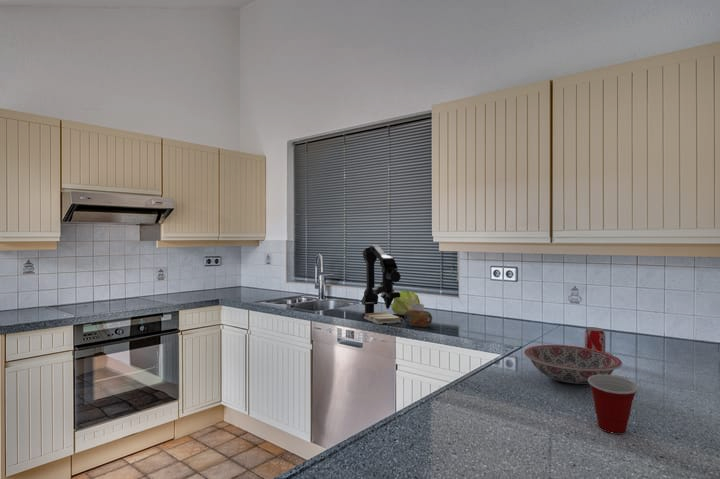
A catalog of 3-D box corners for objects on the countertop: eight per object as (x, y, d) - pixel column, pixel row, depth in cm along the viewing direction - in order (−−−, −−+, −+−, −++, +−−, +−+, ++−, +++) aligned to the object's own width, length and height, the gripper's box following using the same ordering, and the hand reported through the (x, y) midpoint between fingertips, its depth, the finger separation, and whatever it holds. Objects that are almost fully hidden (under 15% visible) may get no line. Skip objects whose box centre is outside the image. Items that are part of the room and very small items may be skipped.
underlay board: (364, 318, 250) (364, 313, 250) (385, 316, 256) (385, 312, 256) (377, 324, 234) (377, 319, 234) (400, 322, 239) (400, 317, 239)
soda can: (597, 363, 163) (597, 331, 163) (580, 358, 169) (580, 327, 169) (609, 360, 166) (609, 329, 166) (592, 356, 172) (592, 326, 172)
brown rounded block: (403, 325, 232) (403, 309, 232) (406, 324, 235) (406, 308, 235) (430, 328, 225) (430, 311, 225) (432, 326, 228) (432, 310, 228)
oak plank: (368, 317, 246) (368, 314, 246) (388, 315, 252) (388, 313, 252) (378, 322, 234) (378, 319, 234) (399, 320, 239) (399, 317, 239)
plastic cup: (590, 435, 104) (590, 385, 104) (584, 417, 114) (585, 372, 114) (643, 443, 100) (643, 391, 100) (632, 424, 110) (632, 377, 110)
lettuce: (394, 321, 247) (398, 296, 245) (388, 308, 271) (392, 286, 270) (423, 325, 248) (427, 301, 247) (415, 312, 273) (419, 290, 271)
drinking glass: (419, 324, 233) (419, 306, 233) (409, 322, 238) (409, 304, 237) (426, 322, 238) (426, 304, 238) (416, 321, 243) (416, 303, 242)
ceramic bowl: (620, 403, 124) (621, 375, 124) (515, 384, 140) (515, 359, 140) (622, 375, 149) (622, 352, 149) (532, 362, 164) (532, 341, 164)
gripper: (367, 279, 244) (367, 307, 244) (382, 282, 226) (382, 312, 227) (384, 278, 248) (384, 305, 248) (400, 281, 231) (400, 311, 231)
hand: (387, 308), depth 238 cm, fingers closed
